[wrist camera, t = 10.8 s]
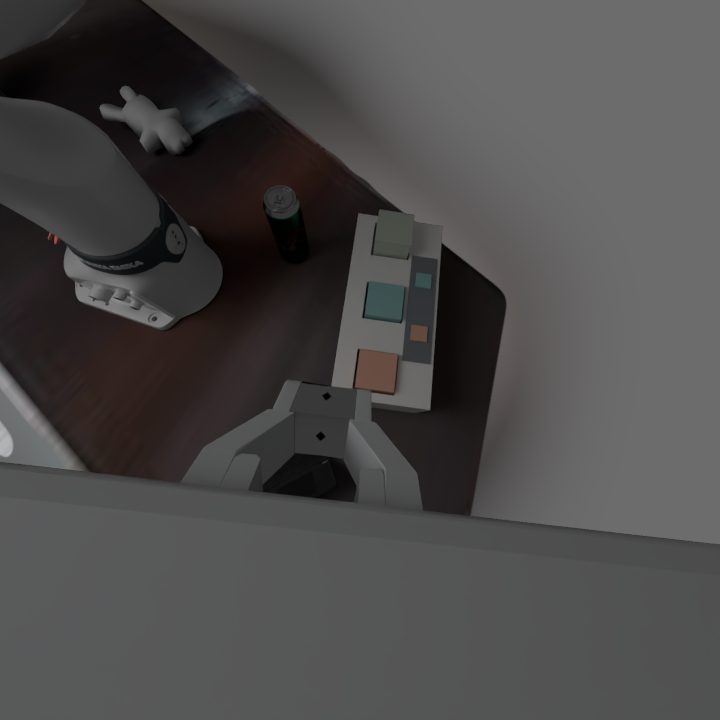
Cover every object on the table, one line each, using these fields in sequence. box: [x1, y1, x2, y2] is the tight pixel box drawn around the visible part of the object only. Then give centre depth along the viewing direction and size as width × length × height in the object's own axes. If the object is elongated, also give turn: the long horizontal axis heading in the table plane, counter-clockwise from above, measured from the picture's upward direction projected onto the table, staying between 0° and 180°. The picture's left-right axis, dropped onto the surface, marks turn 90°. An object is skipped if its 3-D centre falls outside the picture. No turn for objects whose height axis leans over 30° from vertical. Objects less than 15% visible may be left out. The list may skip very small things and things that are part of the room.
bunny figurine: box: [100, 86, 193, 155], centre depth 51 cm, size 10×5×15 cm
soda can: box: [263, 185, 309, 263], centre depth 43 cm, size 5×5×12 cm
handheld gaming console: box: [263, 453, 338, 498], centre depth 38 cm, size 12×7×10 cm
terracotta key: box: [354, 349, 398, 395], centre depth 38 cm, size 5×5×4 cm
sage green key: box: [373, 209, 414, 260], centre depth 41 cm, size 5×5×4 cm
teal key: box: [364, 281, 405, 323], centre depth 41 cm, size 5×5×4 cm
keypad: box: [331, 213, 443, 413], centre depth 43 cm, size 13×28×8 cm, turn 173°
